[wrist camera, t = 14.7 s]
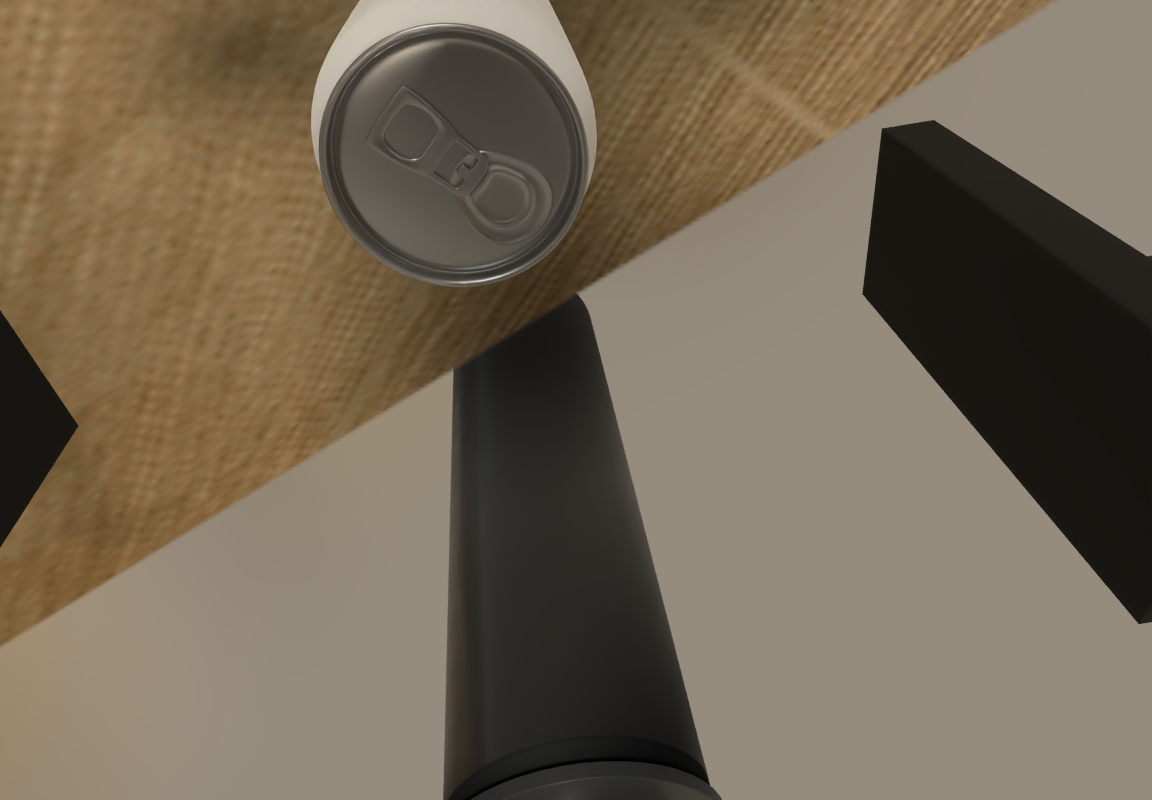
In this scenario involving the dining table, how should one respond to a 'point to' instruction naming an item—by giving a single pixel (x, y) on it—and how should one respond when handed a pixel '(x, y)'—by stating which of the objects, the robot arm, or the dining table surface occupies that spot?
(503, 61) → the can
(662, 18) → the dining table surface
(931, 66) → the dining table surface
